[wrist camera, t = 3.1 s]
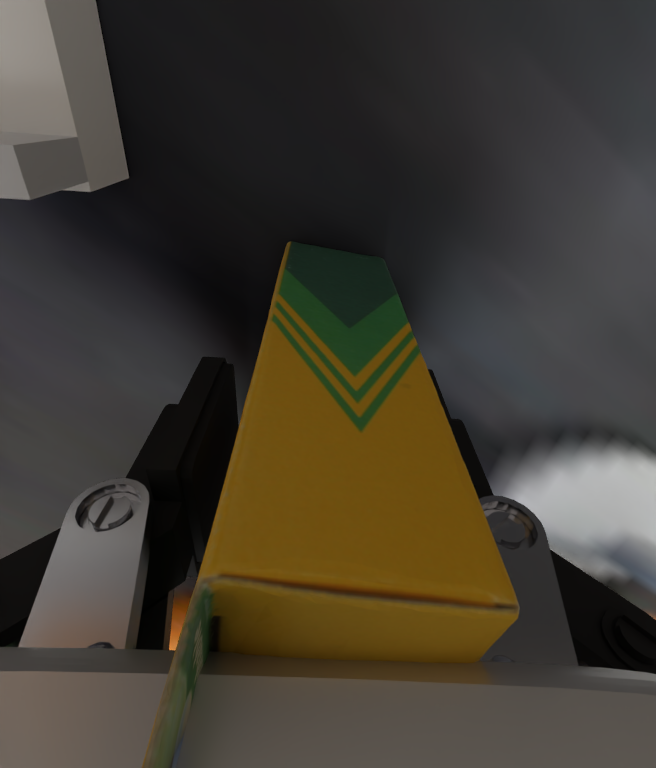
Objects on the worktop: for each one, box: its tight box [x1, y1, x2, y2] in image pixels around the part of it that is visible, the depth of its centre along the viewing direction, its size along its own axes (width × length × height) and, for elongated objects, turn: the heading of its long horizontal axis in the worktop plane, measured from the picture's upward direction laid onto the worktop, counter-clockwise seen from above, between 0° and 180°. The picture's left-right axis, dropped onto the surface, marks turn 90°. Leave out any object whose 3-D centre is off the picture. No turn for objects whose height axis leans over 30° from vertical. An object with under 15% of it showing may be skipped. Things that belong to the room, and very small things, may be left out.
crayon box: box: [142, 242, 520, 768], centre depth 9 cm, size 7×3×12 cm, turn 169°
